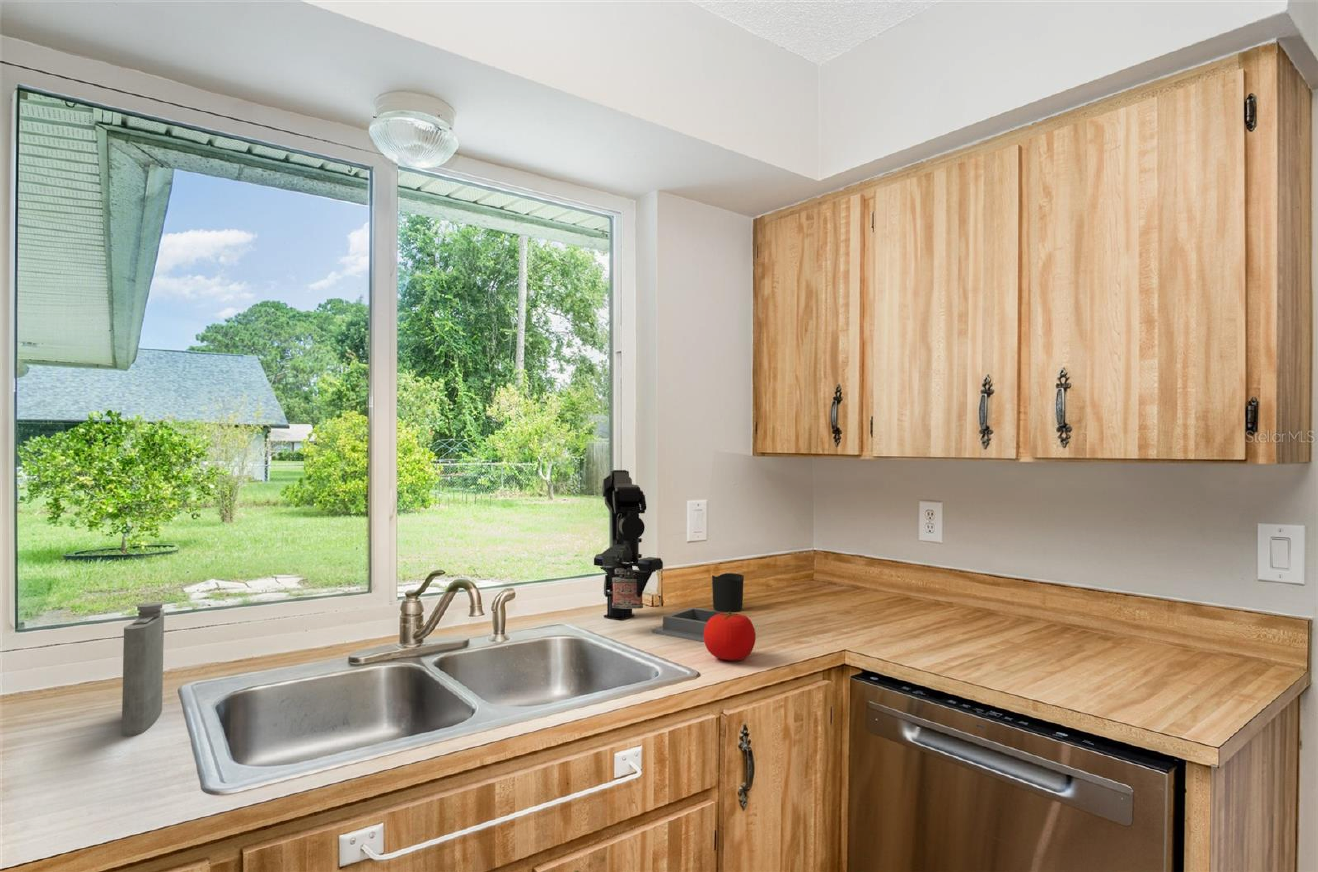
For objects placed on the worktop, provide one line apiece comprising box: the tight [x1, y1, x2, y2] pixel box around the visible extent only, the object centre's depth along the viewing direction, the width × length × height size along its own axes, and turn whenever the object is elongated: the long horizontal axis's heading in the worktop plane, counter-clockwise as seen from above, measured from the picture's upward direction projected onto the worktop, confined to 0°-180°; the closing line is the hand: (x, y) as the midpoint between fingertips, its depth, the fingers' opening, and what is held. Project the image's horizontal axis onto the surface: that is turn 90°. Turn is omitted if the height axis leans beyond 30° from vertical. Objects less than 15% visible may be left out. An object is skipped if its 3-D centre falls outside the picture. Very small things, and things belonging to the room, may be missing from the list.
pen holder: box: [711, 572, 744, 613], centre depth 214 cm, size 9×9×10 cm
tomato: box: [703, 612, 757, 661], centre depth 162 cm, size 11×12×10 cm
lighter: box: [612, 568, 644, 610], centre depth 185 cm, size 8×3×10 cm, turn 84°
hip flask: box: [121, 602, 165, 737], centre depth 125 cm, size 16×4×20 cm, turn 24°
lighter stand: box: [651, 606, 726, 643], centre depth 187 cm, size 18×18×4 cm
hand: (627, 595), depth 185 cm, fingers closed on lighter, 7 cm apart
